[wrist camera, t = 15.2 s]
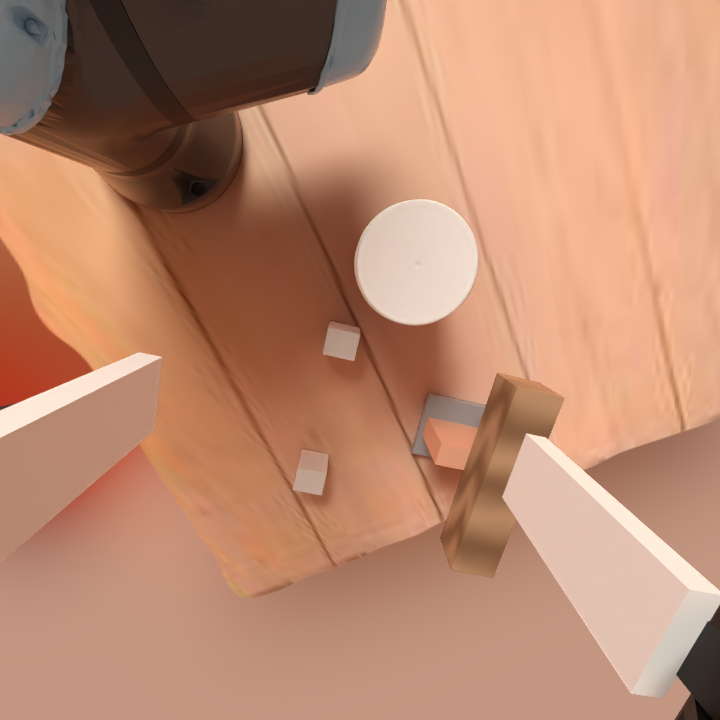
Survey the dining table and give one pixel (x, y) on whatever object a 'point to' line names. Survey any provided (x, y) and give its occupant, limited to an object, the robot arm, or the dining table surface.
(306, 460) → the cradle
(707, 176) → the dining table surface
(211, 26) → the robot arm
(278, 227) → the dining table surface
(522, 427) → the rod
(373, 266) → the supplement tub
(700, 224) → the dining table surface
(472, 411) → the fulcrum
